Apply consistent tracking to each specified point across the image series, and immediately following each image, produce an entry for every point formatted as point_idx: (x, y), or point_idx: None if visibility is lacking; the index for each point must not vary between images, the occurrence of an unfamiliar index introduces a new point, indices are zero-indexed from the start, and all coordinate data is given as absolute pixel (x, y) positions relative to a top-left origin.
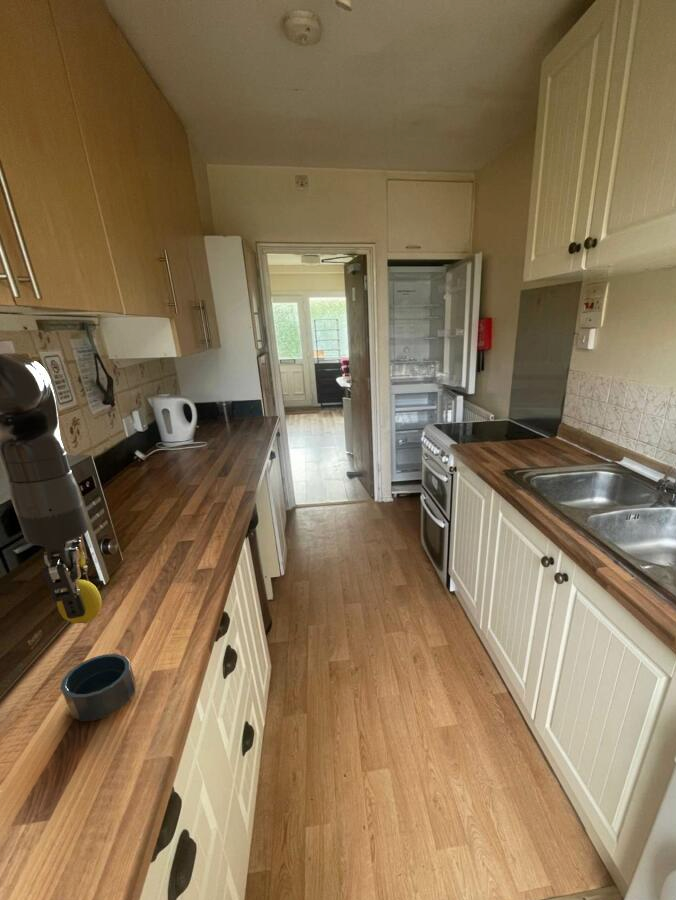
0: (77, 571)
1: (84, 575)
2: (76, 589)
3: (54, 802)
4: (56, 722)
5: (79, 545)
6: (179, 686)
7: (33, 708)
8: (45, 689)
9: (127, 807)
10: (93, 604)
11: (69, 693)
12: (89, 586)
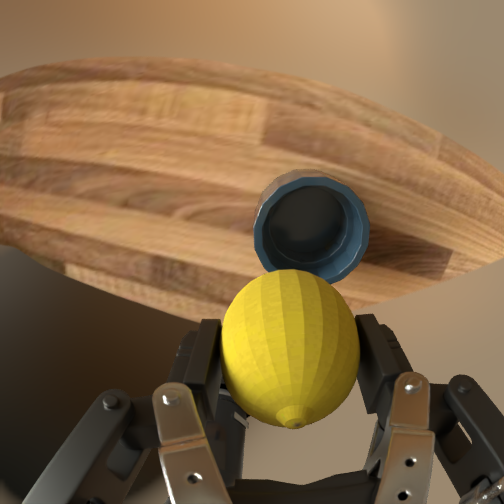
0: (432, 462)
1: (206, 384)
2: (429, 396)
3: (439, 250)
4: None
5: None
6: (322, 99)
7: None
8: None
9: (476, 180)
10: (341, 300)
11: (345, 271)
12: (312, 352)
